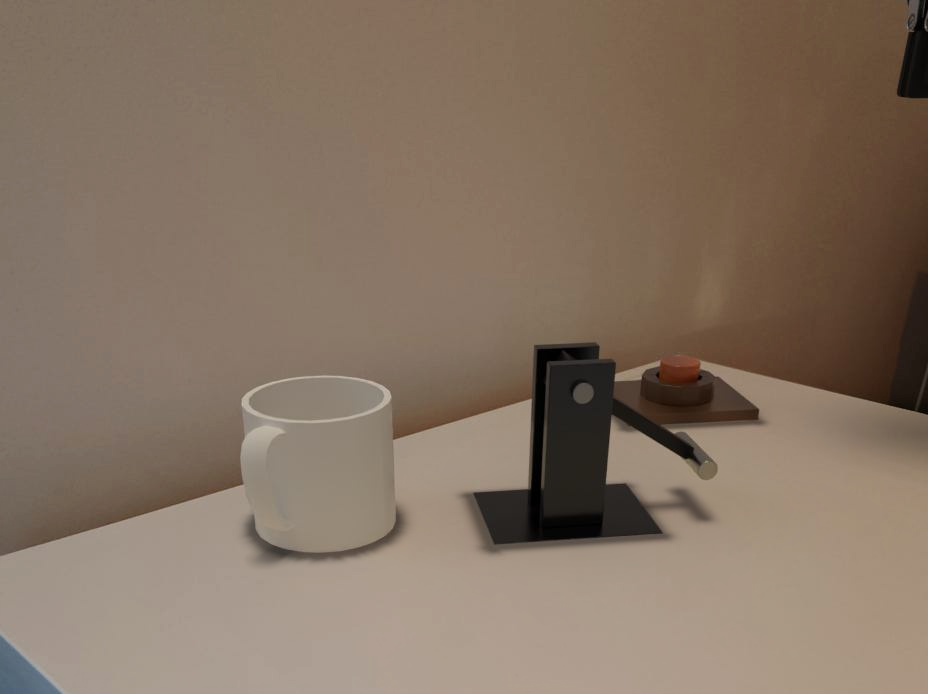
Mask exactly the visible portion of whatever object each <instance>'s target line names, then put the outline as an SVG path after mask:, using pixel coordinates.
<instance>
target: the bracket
mask: <svg viewBox="0 0 928 694" xmlns="http://www.w3.org/2000/svg"><path fill="white" fill-rule="evenodd" d="M600 348H601V347H600V345H599V344H598V343H597V342H596V341H593V342H569V343H545V344H544V343H543V344H534V345H533V360H532V381H531V382H532V383H531V385H532V386H531V408H530V409H531V411H530V430H529V432H530V433H529V454H528V455H529V457H528V461H529V462H528V479H527V480H528V481H527V483H528V484H527V488H525V489H509V490H507V489H506V490H492V491H476V492H475V491H474V492H473V493H472V494H473V496H474V499H475V501H476V503H477V506H478V509H479V511H480V514H481V516H482V518H483V521H484V523H485V526H486V528H487V531H488V533H489V536H490V538H491V540H492V543H493V545H495V546H497V545H510V544H524V543H526V544H527V543H541V542H542V543H543V542H554V541H555V542H556V541H568V540H569V541H570V540H572V541H573V540H584V539H603V538H614V537H615V538H617V537H629V536H631V537H633V536H646V535H647V536H648V535H662V534H664V532H663V531H662V529H661V528H660V527H659V525H658V524H657V522H656V521H655V519H653V517H652V516H651V514H650V513H649V512H648V511H647V510H646V508H645V506H644V505H643V504H642V503H641V501H640V500H639V499H638V498H637V496H636V495H635V493H634V492H633V491H632V489H631V488H630V486H629V485H628V484H627V483H610V484H609V483H608V484H607V475H608V473H607V472H608V464H609V452H610V451H609V450H610V440H611V429H612V428H611V427H612V417H613V415H612V405H613V394H614V382H615V381H616V380H615V379H616V370H617V369H616V368H617V362H616V361H615V360H614V359H613V358H600ZM562 350H563V351H565V352H566V353H568V354H570V355H571V356H573V357H574V358H576V359H577V360H571V361H556V359H557V358H558V356H559V355H560V353H561V352H562ZM545 376H546V384H545V383H544V381H543V379H544V377H545Z"/></svg>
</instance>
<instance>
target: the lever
mask: <svg viewBox="0 0 928 694" xmlns="http://www.w3.org/2000/svg"><path fill="white" fill-rule="evenodd" d="M571 360H577V359H576V358H574V357H573V356H571V355H570V354H568V353H566V352H565V351H563V350H562V352H561V353H560V355H559V356H558V358H557V359H556V361H571ZM543 381H544V383H545V384H546V376H545V377H544V379H543ZM612 416H614V417H615V418H616V419H618V420H620V421H621V422H623V423H625V424H626V423H627V424H628V425H630V426H629V427H631V428H632V429H634V430H636V431H637V432H639V433H641V434H643V435H645V436H646V437H647V438H649V439H650V440H653V441H654V442H655V443H657V444H659V445H661V446H662V447H664V448H666V449H667V450H669V451H670V452H672V453H674V454H675V455H677V456H679V457H680V458H681V459H682V460H683V461H684V463H686V465H687V466H688V467H689V468H690V469H691V470H692V471H693V472H694V473H695V474H696V475H697V476H698V477H699V478H700V479H701V480H703V481H709V480H712V479H713V478H714V477H716V476H717V474H718V471H719V467H718V463H717V462H715V460H714V459H713V458H712V457H710V455H708V453H707V452H706V451H705V450H703V448H702V447H701V446H700V445H699V444H698V443H697V442H696V441H695V440H693V438H691V436H690V435H689V434H688V433H687V432H685V431H677V432H675V433H674V432H672V431H670V430H669V429H667V428H665V427H664V425H659V424H658V423H656V422H655V421H653V420H651V419H650V418H648V417H647V416H645V415H643V414H642V413H640V412H639V411H637V410H635V409H634V408H632V407H631V406H629V405H627V404H626V403H624V402H623V401H621V400H619V399H618V398H616V397H615V396H613V405H612ZM627 424H626V425H627ZM628 425H627V426H628Z"/></svg>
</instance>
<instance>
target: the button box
mask: <svg viewBox="0 0 928 694" xmlns="http://www.w3.org/2000/svg"><path fill="white" fill-rule="evenodd" d="M659 370H660V365H657V366H653V367H649V368H647V369H645V370H644V371H643V372H642V374H641V378H640V379H636V380H635V379H633V380H615V382H614V394H613V396H615V397H616V398H618V399H619V400H621V401H623V402H624V403H626V404H627V405H629V406H631V407H632V408H634V409H635V410H637V411H639V412H640V413H642V414H643V415H645V416H647V417H648V418H650V419H651V420H653V421H655V422H656V423H658V424H659V425H661V426H664V425H665V426H666V425H682V424H701V423H717V422H718V423H720V422H721V423H722V422H738V421H739V422H741V421H755V420H756V421H758V420H759V415H760V408H759V407H758V406H756V405H755V404H754V403H753V402H751V401H750V400H749V399H748V398H746V397H745V396H744V395H743V394H741V393H740V392H739V391H738V390H736V389H735V388H734V387H733V386H731V385H730V384H729V383H728V382H726V381H725V380H724V379H723V378H721V377H720V376H718V375H717V376H715V375H714V374H713V373H712V372H711V371H709V370H706V369H703V368H700V372H699V380H698V381H696V382H691V383H676V382H668V381H664V380H661V379H659ZM625 424H626V425H627V426H628V427H631V426H630V425H628V424H627V423H625Z"/></svg>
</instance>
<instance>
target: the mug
mask: <svg viewBox="0 0 928 694" xmlns="http://www.w3.org/2000/svg"><path fill="white" fill-rule="evenodd" d="M241 413H242V419H243V420H242V422H243V431H244V439H243V441H242V442H241V448H240V456H239V460H240V461H239V462H240V472H241V473H240V474H241V479H242V483H243V488H244V493H245V496H246V499H247V502H248V504H249V507H250V509H251V512H252V513H253V516H254V525H255V531H256V532H257V534H258V536H259V537H260V538H261V539H263V540H264V541H266V542H267V543H268V544H271V545H273V546H275V547H279V548H280V549H283V550H288V551H289V550H290V551H295V552H299V553H320V554H321V553H336V552H342V551H346V550H347V551H349V550H353V549H358V548H361V547H364V546H367V545H370V544H373V543H375V542H377V541H379V540H380V539H382V538H384V537H386V536H387V535H388V534H389V533H390V532H391V531H392V530H393V529H394V527H395V524H396V521H397V509H396V483H395V481H396V480H395V479H396V478H395V457H394V456H395V455H394V427H393V426H394V425H393V424H394V423H393V397H392V394H391V391H390V390H389V389H388V388H387V387H385V386H384V385H383V384H380V383H378V382H376V381H373V380H369V379H364V378H360V377H354V376H345V375H305V376H297V377H290V378H284V379H279V380H275V381H270V382H267V383H265V384H262V385H259V386H256V387H254V388H253V389H251V390H249V391H247V392H246V393H245V394H244V395H243V396H242V398H241Z"/></svg>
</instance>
